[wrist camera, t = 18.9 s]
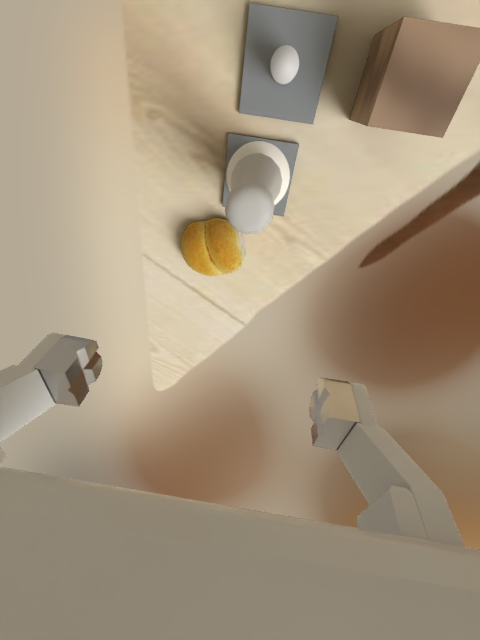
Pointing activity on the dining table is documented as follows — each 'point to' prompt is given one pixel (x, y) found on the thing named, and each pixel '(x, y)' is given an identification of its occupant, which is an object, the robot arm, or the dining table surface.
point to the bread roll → (213, 247)
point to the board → (309, 61)
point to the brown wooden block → (416, 76)
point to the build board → (274, 149)
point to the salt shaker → (253, 193)
